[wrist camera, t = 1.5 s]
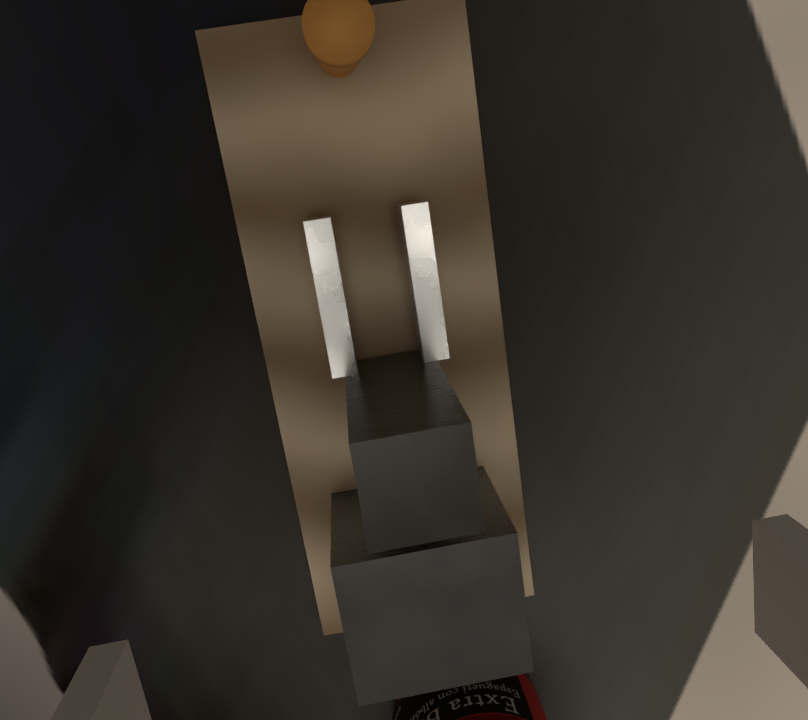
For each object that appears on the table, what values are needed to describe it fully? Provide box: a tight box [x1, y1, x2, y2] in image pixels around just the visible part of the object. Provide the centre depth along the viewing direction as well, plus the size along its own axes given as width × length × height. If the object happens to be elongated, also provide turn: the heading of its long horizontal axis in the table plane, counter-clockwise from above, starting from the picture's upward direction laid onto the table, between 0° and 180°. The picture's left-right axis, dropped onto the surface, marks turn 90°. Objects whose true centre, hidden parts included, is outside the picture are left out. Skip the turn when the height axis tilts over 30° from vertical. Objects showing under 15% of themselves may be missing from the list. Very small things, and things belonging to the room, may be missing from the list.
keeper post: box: [302, 0, 375, 78], centre depth 23 cm, size 2×2×5 cm
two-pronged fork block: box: [303, 200, 486, 554], centre depth 25 cm, size 19×5×9 cm, turn 9°
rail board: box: [195, 0, 534, 636], centre depth 30 cm, size 26×10×2 cm, turn 9°
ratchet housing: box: [330, 466, 534, 706], centre depth 28 cm, size 6×7×6 cm
